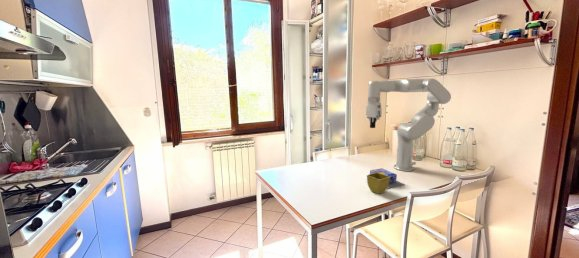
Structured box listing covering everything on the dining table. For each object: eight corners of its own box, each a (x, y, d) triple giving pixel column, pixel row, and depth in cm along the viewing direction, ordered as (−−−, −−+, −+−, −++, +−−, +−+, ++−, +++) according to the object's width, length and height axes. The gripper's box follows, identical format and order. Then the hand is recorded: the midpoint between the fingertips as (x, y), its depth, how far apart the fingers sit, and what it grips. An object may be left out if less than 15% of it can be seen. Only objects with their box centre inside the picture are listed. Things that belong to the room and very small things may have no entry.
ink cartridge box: (382, 167, 157) (400, 175, 144) (381, 175, 159) (399, 184, 145) (369, 169, 154) (387, 178, 141) (369, 178, 155) (386, 187, 142)
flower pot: (376, 187, 143) (377, 171, 141) (389, 192, 135) (390, 176, 134) (365, 190, 138) (366, 175, 136) (378, 196, 131) (379, 180, 129)
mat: (385, 176, 159) (385, 175, 159) (404, 184, 145) (404, 184, 145) (367, 179, 153) (367, 179, 153) (386, 189, 140) (386, 188, 140)
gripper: (386, 100, 159) (385, 129, 162) (370, 99, 172) (369, 125, 175) (377, 100, 156) (376, 129, 159) (361, 99, 169) (360, 126, 172)
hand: (372, 127), depth 167 cm, fingers closed
